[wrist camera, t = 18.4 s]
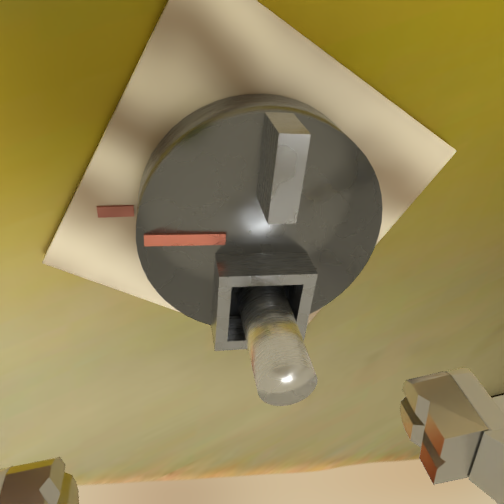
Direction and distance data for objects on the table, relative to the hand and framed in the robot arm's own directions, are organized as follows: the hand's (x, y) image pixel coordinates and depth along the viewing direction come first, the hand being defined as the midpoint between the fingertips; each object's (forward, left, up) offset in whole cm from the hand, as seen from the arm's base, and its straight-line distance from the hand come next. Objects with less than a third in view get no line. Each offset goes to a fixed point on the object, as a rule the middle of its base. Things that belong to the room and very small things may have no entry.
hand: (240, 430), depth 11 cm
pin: (+7, +9, -18) cm, 21 cm away
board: (+3, +7, -23) cm, 24 cm away
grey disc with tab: (+3, +7, -22) cm, 23 cm away
